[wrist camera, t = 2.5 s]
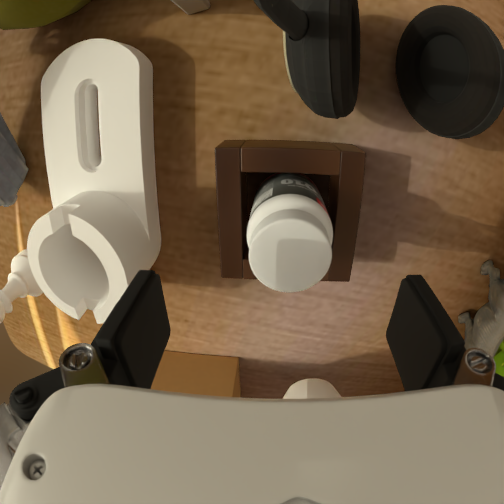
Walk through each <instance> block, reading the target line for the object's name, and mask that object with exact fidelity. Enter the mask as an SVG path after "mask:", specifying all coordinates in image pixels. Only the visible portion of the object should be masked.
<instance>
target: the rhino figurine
mask: <svg viewBox="0 0 504 504" xmlns="http://www.w3.org/2000/svg"><path fill="white" fill-rule="evenodd" d="M481 274H482V275H488V274H489V277H490V284H489V287H490V290H489V295H488V299H489V302H488V303H486V304H485V305H484V306H483V307H481V308H480V309H479V310H478V312H477V313H476V315H475V317H474V318H473V319H472V318H471V316H470V313H469V312H466V313H463V314H460V315H459V316H458V322H459V323H465V324H466V329H465V339H464V342H465V349H466V350H468V349H470V348H480V349H483V350H485V351H486V352H488V353H489V354H490V355H491V356H492V357H494V356H495V354H496V352H497V350H498V348H499V346H500V344H501V342H502V341H503V339H504V279H501V280H500V270H499V269H498V268H495V267H494V266H493V262H492V261H491V260H488V261H486V262H485V263H484V264H483V265H482V266H481Z"/></svg>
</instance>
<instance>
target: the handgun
mask: <svg viewBox="0 0 504 504" xmlns="http://www.w3.org/2000/svg"><path fill="white" fill-rule="evenodd" d="M27 172H28V168H27V166H26V164H25V158H24V157H23V155H22V153H21V151H20V149H19V147H18V145H17V143H16V142H15V140H14V138H13V136H12V134H11V132H10V130H9V128H8V127H7V125H6V123H5V121H4V119H3V117H2V115H1V113H0V206H2V205H3V206H4V207H9V205H12V204H14V203H15V201H16V200H17V195H16V194H17V192H18V190H19V188H20V186H21V185H22V183H23V181H24V179H25V176H26V174H27Z"/></svg>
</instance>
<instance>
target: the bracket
mask: <svg viewBox="0 0 504 504" xmlns="http://www.w3.org/2000/svg"><path fill="white" fill-rule="evenodd" d="M97 89H98V110H97ZM41 110H42V127H43V140H44V150H45V159H46V167H47V174H48V181H49V187H50V193H51V199H52V204H53V210H51V211H50V212H48V213H47V214H45V215H44V216H42V217H41V218H39V219H38V220H37V221H36V222H35V224H34V225H33V227H32V228H31V231H30V233H29V237H28V242H27V254H28V260H29V264H30V267H31V271H32V273H33V276H34V278H35V280H36V282H37V283H38V285H39V287H40V288H41V290H42V291H43V292H44V294H45V295H46V296H47V297H48V299H49V300H50V301H51V302H52V303H53V304H54V305H56V306H57V307H58V308H59V309H60V310H62V311H63V312H65V313H66V314H68V315H69V316H71V317H73V318H75V319H78V320H79V319H80V318H81V317H82V315H83V314H84V313H85V311H86V310H87V309H90V310H93V312H94V315H95V318H96V321H97V324H100V323H104V322H105V320H106V319H107V317H108V316H109V314H110V312H111V311H112V309H113V308H114V306H115V305H116V303H117V302H118V301H119V300H120V298H121V296H122V295H123V293H124V292H125V290H126V289H127V287H128V286H129V284H130V283H131V281H132V280H133V278H134V277H135V275H136V274H137V272H138V271H139V270H150V268H151V267H152V265H153V264H154V262H155V261H156V259H157V257H158V255H159V252H160V248H161V231H160V221H159V211H158V199H157V186H156V172H155V154H154V130H153V66H152V63H151V61H150V60H149V59H148V58H147V57H146V56H145V55H144V54H143V53H142V52H141V51H139V50H138V49H136V48H134V47H132V46H130V45H127V44H124V43H120V42H116V41H113V40H108V39H97V38H96V39H89V40H84V41H81V42H79V43H76V44H74V45H72V46H71V47H69V48H67V49H66V50H65V51H63V52H62V53H61V54H60V55H59V56H58V57H57V58H56V59H55V60H54V61H53V62H52V63H51V65H50V66H49V67H48V69H47V70H46V72H45V74H44V76H43V78H42V81H41ZM98 111H99V131H100V145H99V131H98ZM100 146H101V156H100Z"/></svg>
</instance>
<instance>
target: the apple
mask: <svg viewBox="0 0 504 504" xmlns="http://www.w3.org/2000/svg"><path fill="white" fill-rule="evenodd" d="M90 1H92V0H0V28H1V29H3V30H8V29H26V28H34V27H41V26H45V25H47V24H50V23H52V22H54V21H57V20H59V19H61V18H64V17H66V16H68V15H71V14H73V13H75V12H77V11H79V10H80V9H81V8H82V7H84V6H85V5H86V4H88V3H89V2H90Z"/></svg>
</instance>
